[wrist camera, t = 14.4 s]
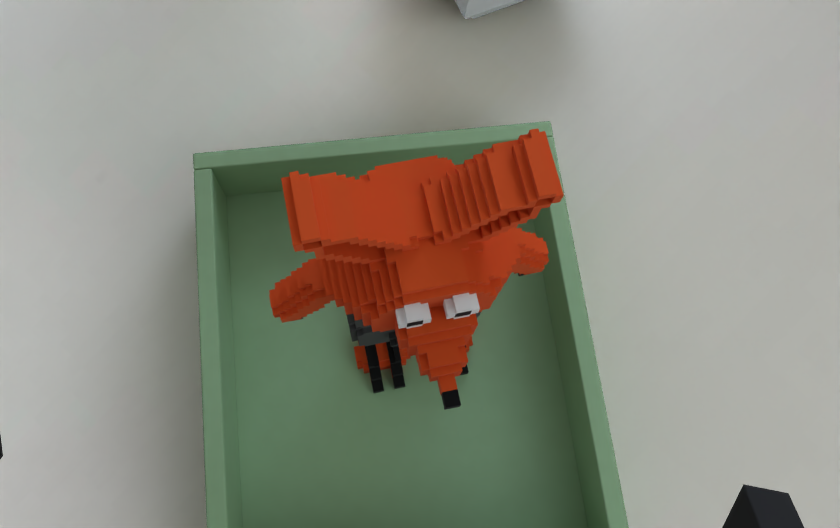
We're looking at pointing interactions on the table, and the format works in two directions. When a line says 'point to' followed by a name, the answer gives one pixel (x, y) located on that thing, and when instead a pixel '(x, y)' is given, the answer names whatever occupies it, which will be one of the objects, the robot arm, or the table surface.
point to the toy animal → (417, 252)
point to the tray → (389, 374)
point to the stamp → (482, 7)
